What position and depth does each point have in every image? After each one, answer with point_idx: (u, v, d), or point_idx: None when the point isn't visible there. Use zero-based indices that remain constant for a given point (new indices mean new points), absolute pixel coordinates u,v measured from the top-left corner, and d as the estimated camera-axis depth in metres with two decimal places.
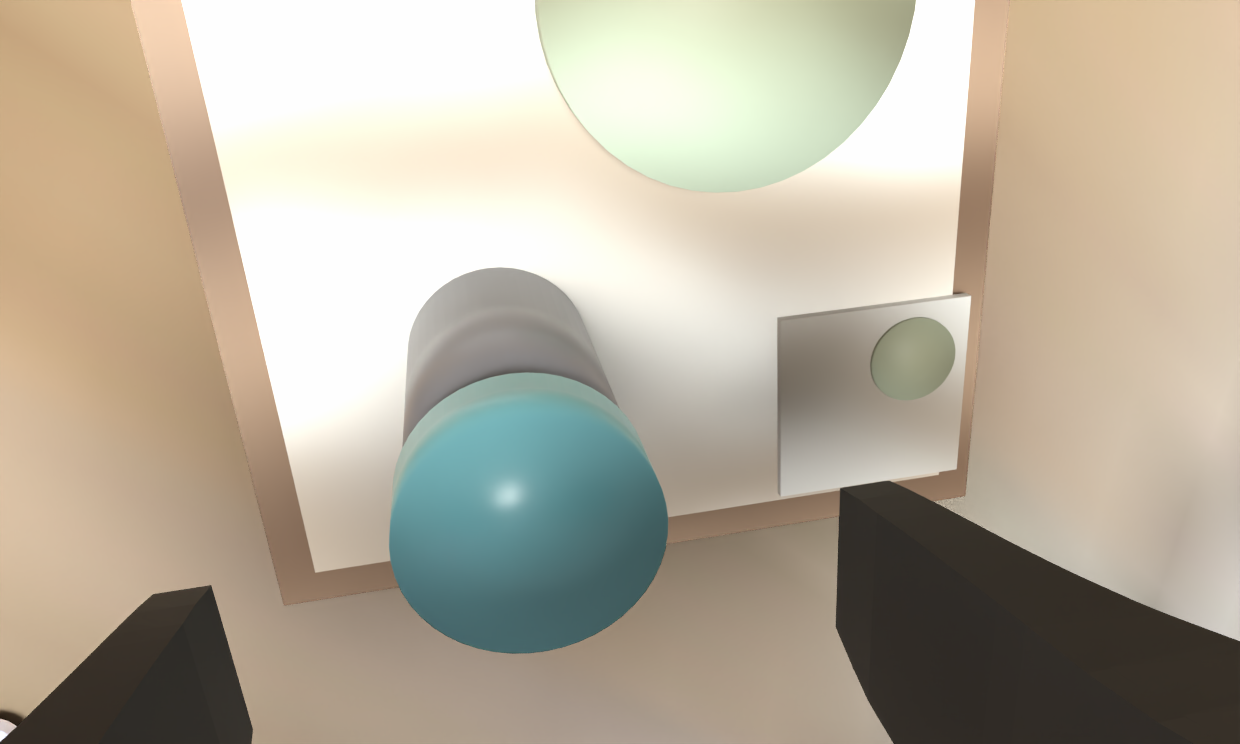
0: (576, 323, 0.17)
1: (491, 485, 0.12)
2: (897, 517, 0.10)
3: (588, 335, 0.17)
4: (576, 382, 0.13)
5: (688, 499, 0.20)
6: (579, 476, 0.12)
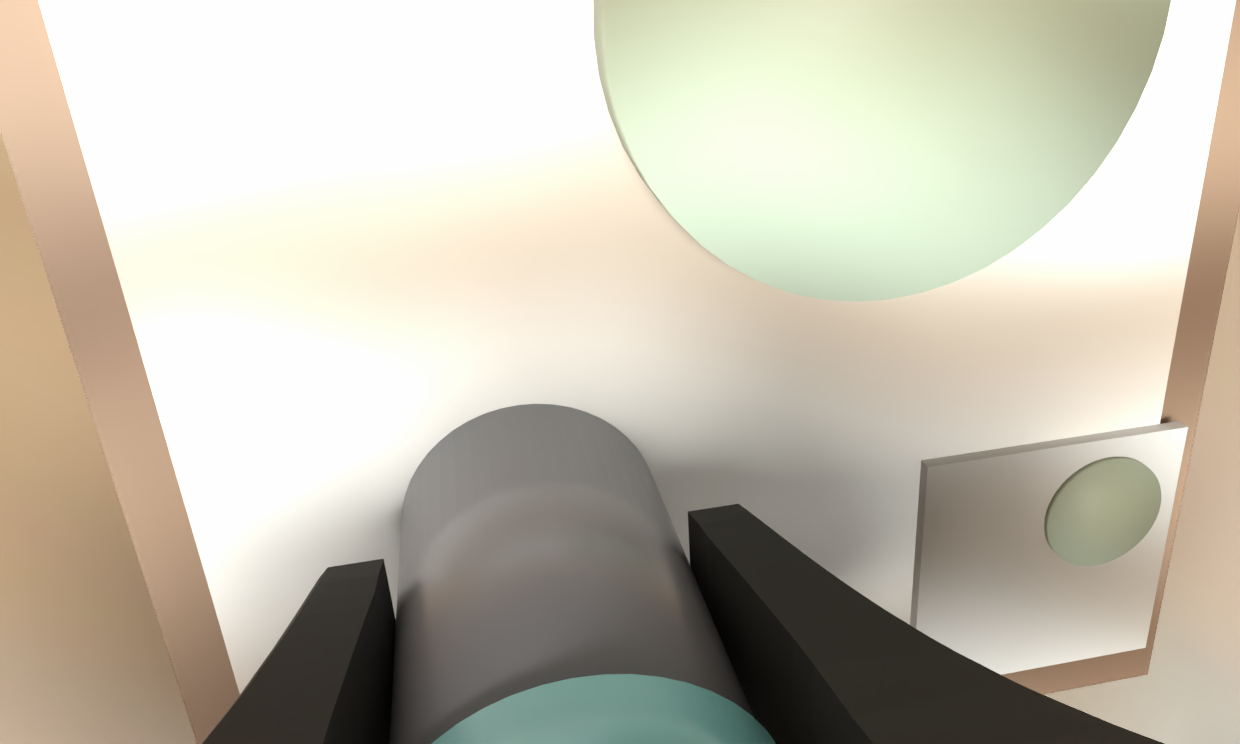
0: (652, 502, 0.11)
1: None
2: (727, 544, 0.10)
3: (665, 508, 0.12)
4: (686, 687, 0.08)
5: None
6: None
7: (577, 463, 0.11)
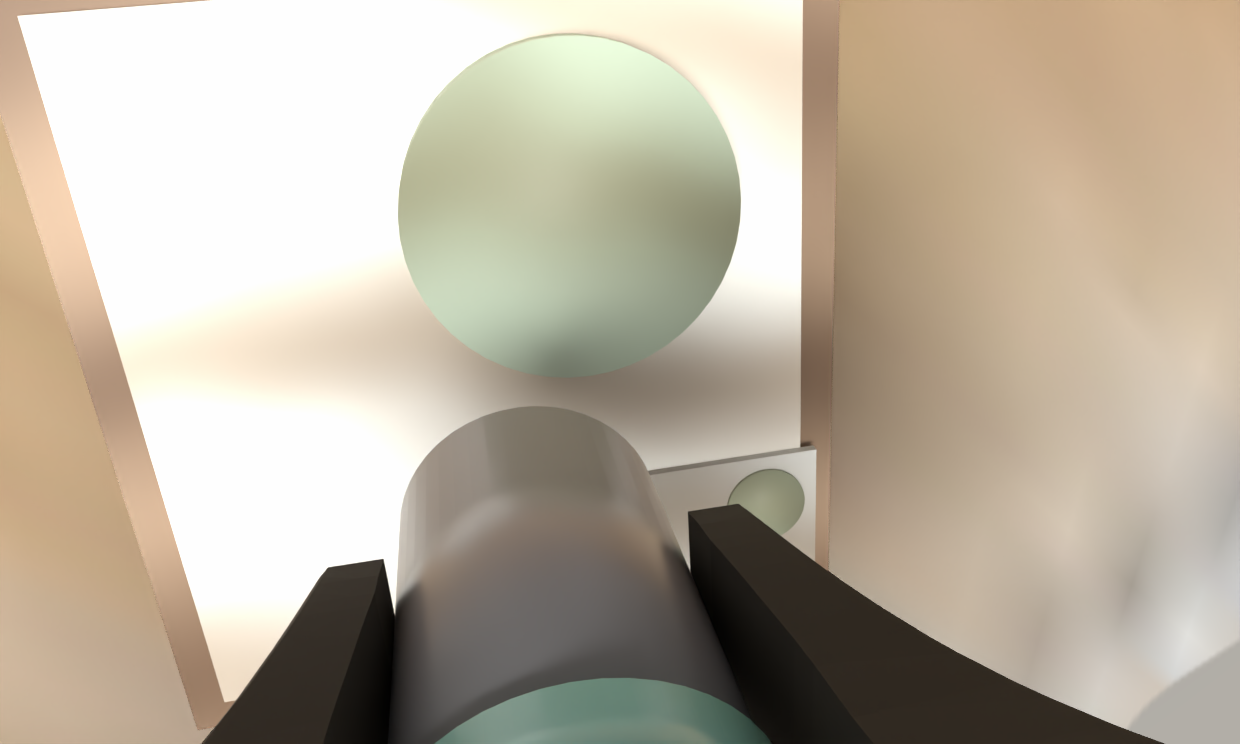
0: (651, 504, 0.11)
1: None
2: (728, 544, 0.10)
3: (664, 511, 0.12)
4: (685, 691, 0.08)
5: None
6: None
7: (576, 466, 0.11)
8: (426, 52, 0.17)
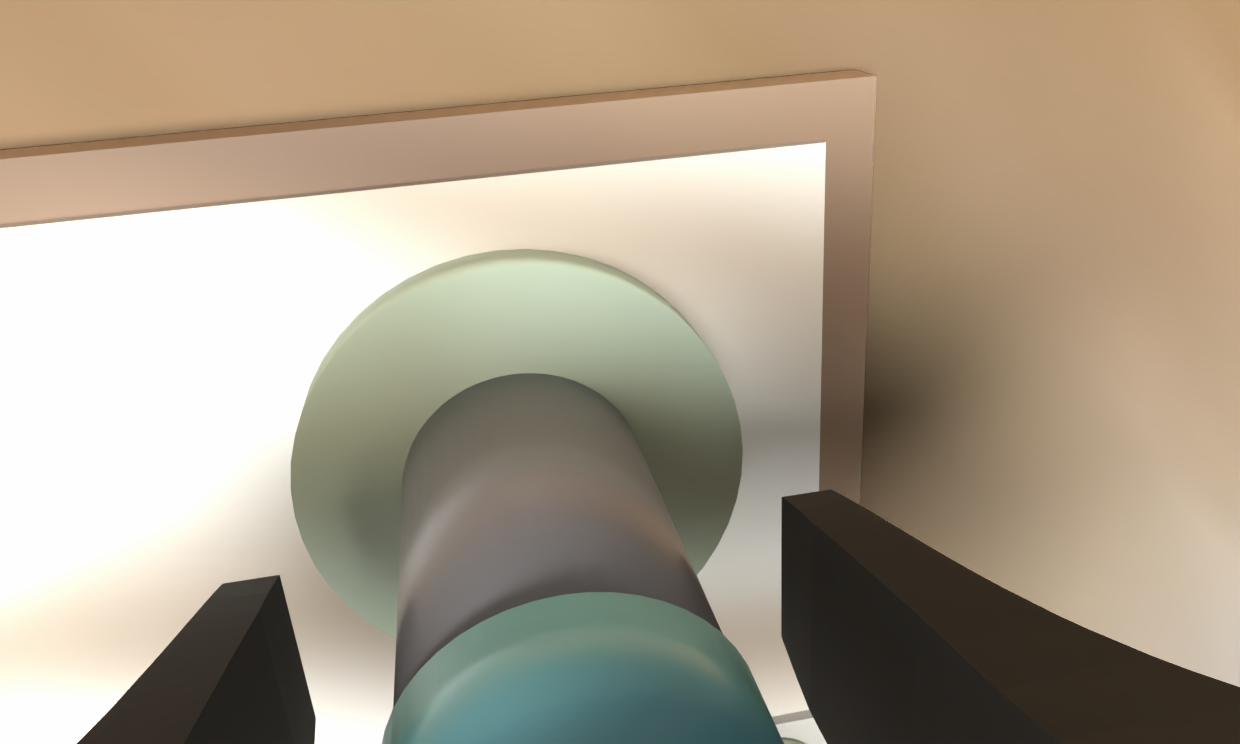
0: (636, 460, 0.12)
1: None
2: (832, 527, 0.10)
3: (649, 469, 0.13)
4: (663, 604, 0.08)
5: None
6: None
7: (566, 423, 0.12)
8: (327, 278, 0.13)
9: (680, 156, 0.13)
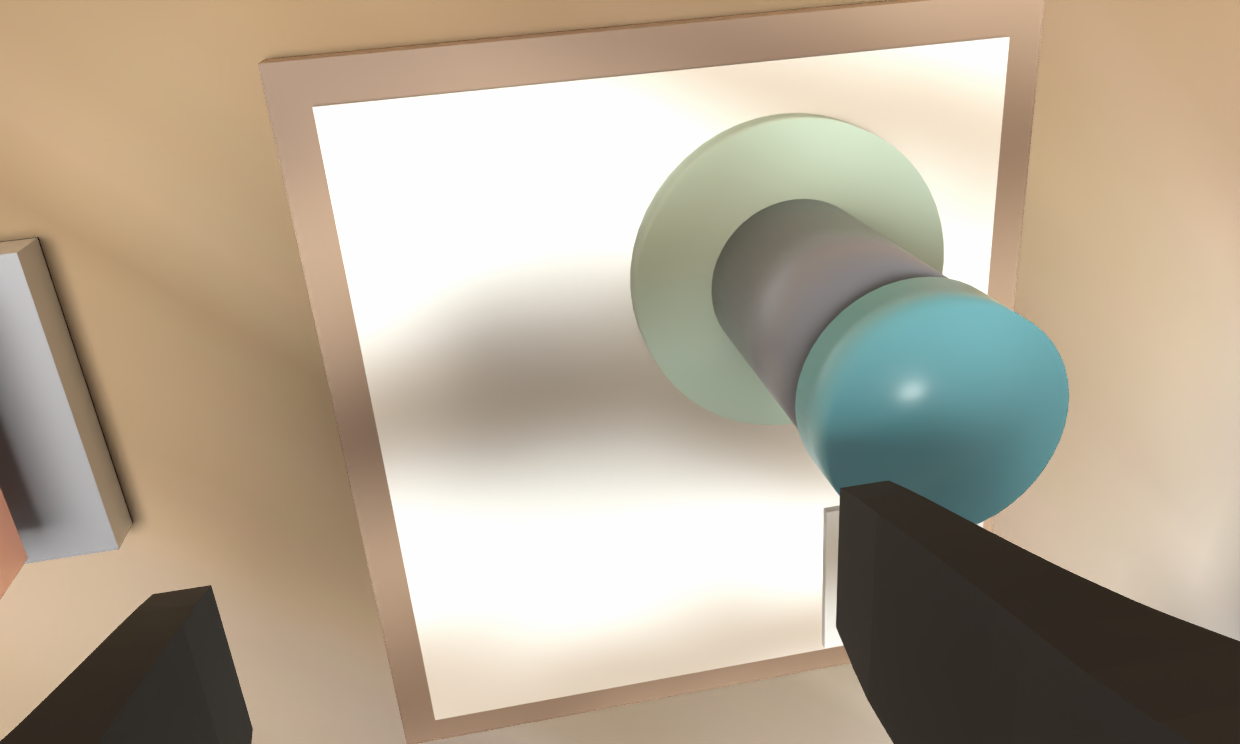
0: None
1: (925, 374, 0.13)
2: (896, 517, 0.10)
3: None
4: None
5: (746, 651, 0.24)
6: (1000, 368, 0.13)
7: (851, 221, 0.17)
8: (666, 132, 0.19)
9: (909, 47, 0.19)
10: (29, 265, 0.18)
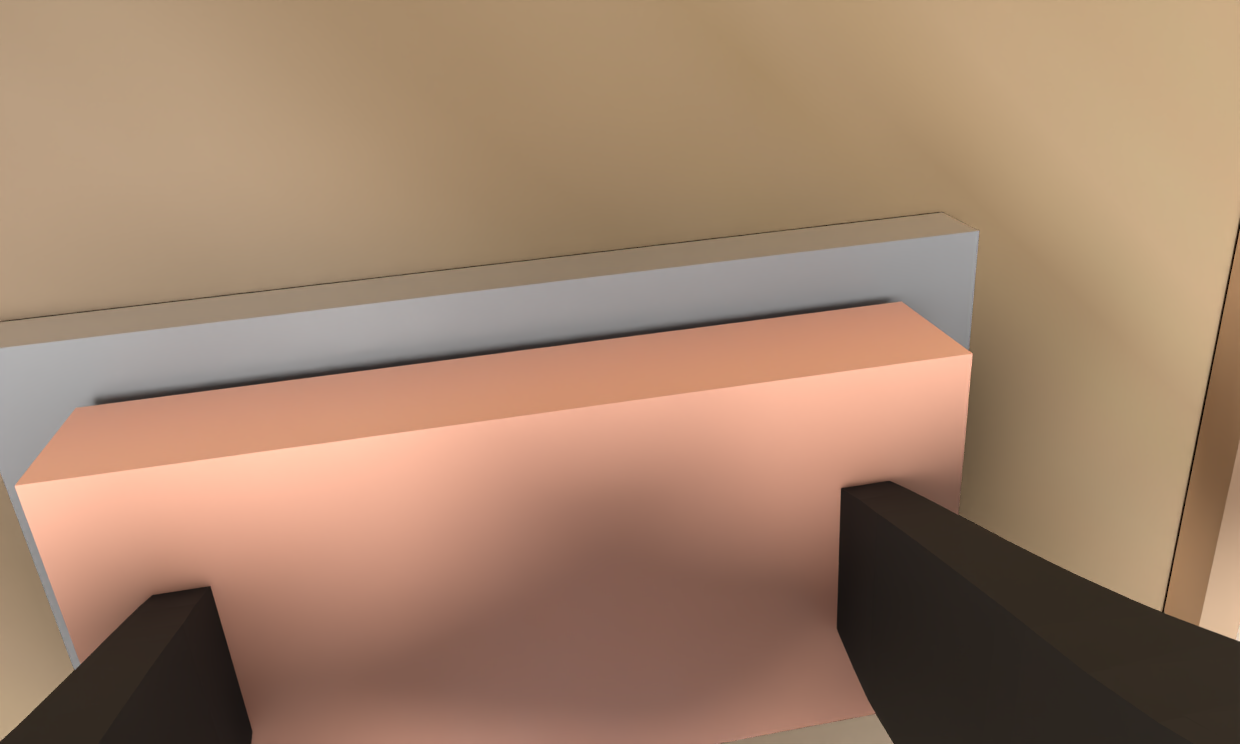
0: None
1: None
2: (897, 517, 0.10)
3: None
4: None
5: None
6: None
7: None
8: None
9: None
10: (965, 248, 0.13)
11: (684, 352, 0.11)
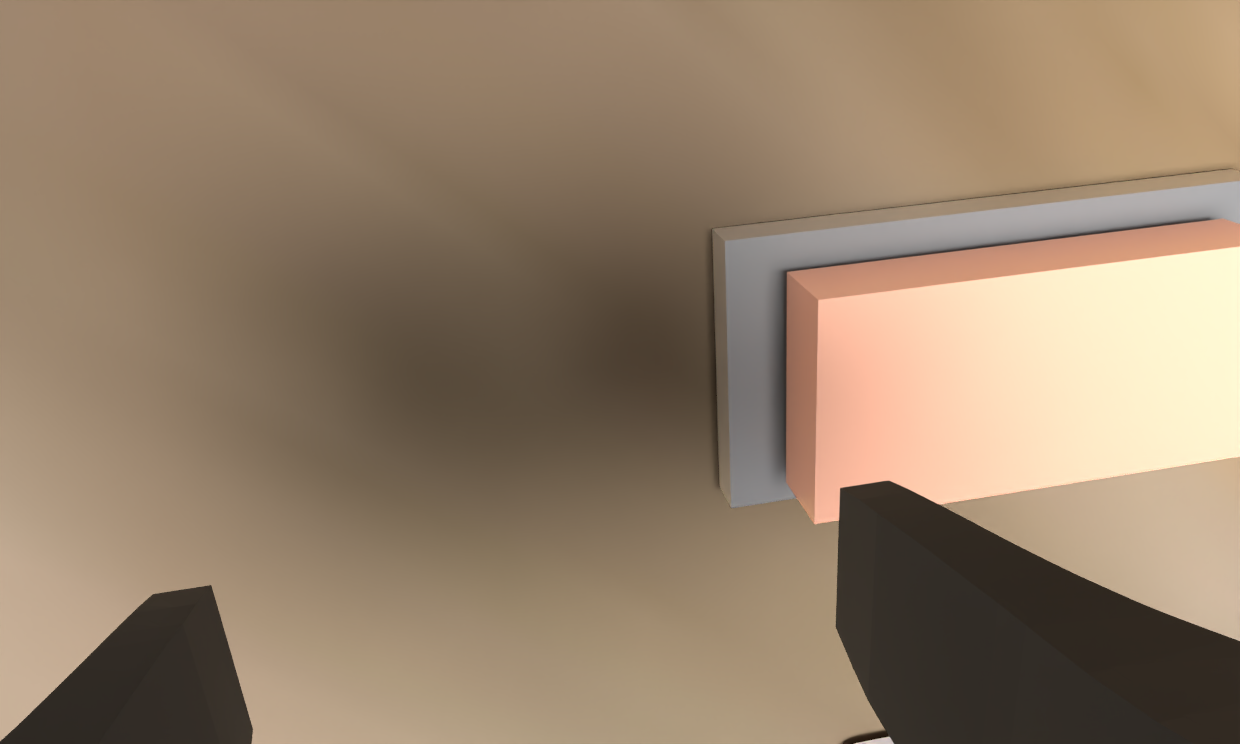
0: None
1: None
2: (897, 517, 0.10)
3: None
4: None
5: None
6: None
7: None
8: None
9: None
10: None
11: (1118, 242, 0.20)
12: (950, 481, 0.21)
